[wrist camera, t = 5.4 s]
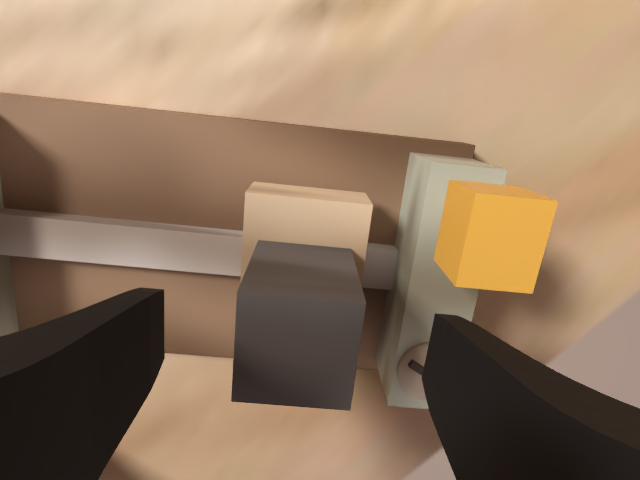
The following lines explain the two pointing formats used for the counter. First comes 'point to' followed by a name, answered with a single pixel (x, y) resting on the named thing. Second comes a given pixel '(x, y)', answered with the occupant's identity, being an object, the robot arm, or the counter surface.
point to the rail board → (214, 220)
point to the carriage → (300, 296)
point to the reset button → (493, 236)
